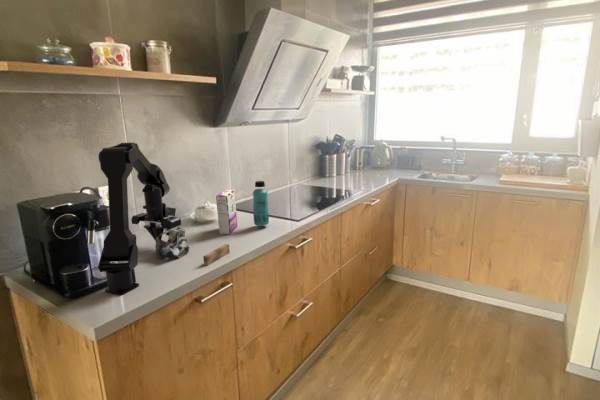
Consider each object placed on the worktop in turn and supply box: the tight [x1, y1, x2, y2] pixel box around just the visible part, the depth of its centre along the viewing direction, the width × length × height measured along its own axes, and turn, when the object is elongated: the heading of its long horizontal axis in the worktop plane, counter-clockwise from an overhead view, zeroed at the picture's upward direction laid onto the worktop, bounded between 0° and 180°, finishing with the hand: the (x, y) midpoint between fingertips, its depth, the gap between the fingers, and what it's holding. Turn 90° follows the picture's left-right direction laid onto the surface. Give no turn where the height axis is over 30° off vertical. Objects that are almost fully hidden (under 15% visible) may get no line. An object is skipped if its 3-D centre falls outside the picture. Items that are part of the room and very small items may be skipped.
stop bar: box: [203, 243, 230, 266], centre depth 121 cm, size 12×2×3 cm, turn 155°
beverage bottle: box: [252, 180, 270, 227], centre depth 153 cm, size 6×7×20 cm
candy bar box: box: [215, 189, 238, 235], centre depth 150 cm, size 11×5×16 cm, turn 174°
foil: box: [154, 226, 190, 260], centre depth 128 cm, size 12×11×15 cm
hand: (158, 243), depth 132 cm, fingers closed
